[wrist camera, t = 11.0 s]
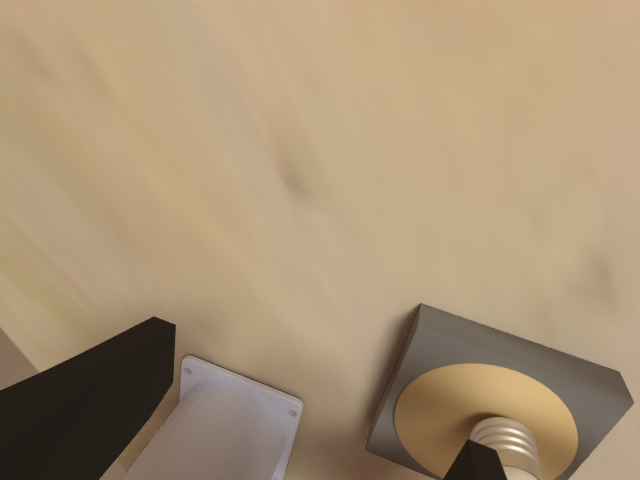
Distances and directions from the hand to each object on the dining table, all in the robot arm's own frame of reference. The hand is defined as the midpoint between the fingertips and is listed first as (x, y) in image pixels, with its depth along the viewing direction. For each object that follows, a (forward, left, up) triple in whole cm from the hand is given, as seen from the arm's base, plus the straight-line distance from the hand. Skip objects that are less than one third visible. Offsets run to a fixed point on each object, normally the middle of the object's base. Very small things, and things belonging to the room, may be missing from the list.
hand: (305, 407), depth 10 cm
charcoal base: (-8, -8, -10) cm, 15 cm away
